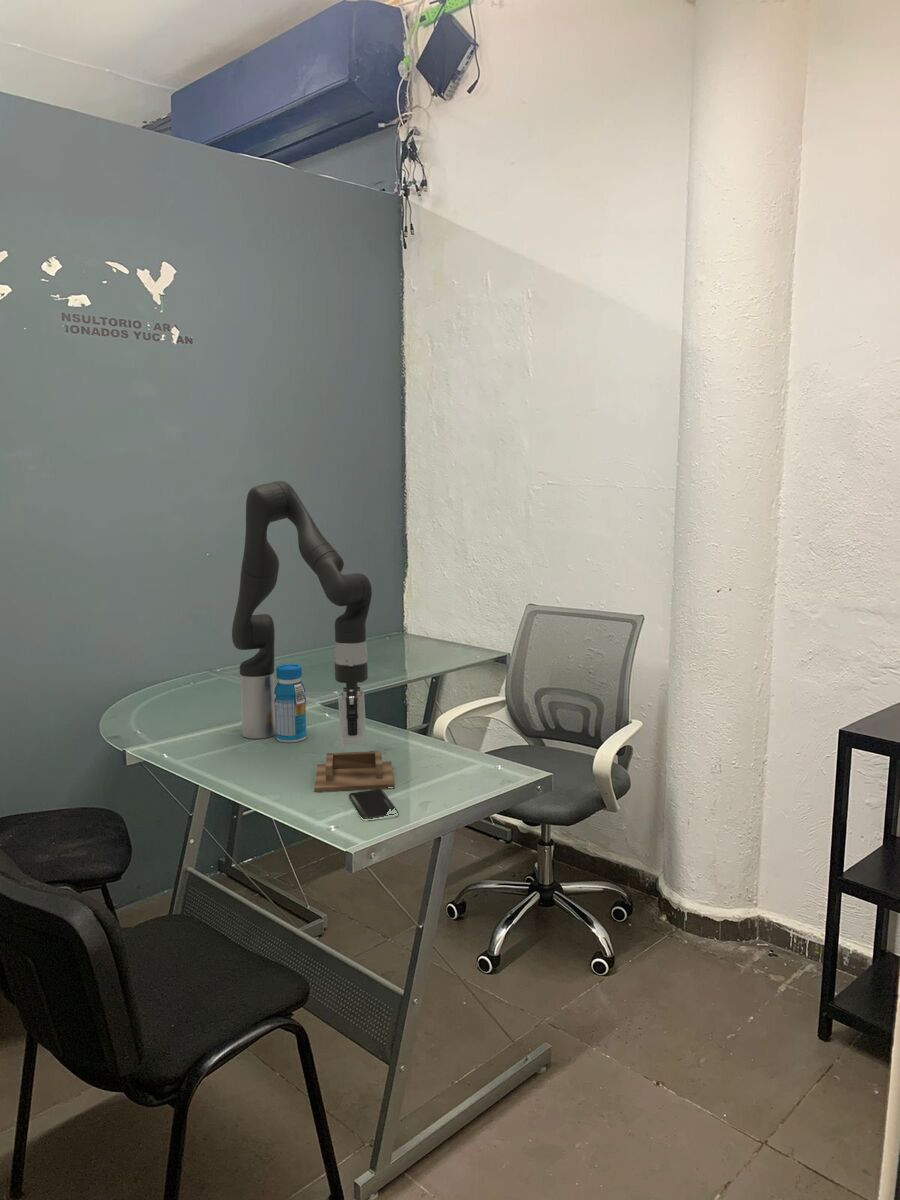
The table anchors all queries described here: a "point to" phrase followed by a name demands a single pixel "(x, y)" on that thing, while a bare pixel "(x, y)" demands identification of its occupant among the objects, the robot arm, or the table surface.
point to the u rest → (353, 772)
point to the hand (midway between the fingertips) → (352, 731)
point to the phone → (371, 803)
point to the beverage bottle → (290, 704)
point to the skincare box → (361, 726)
